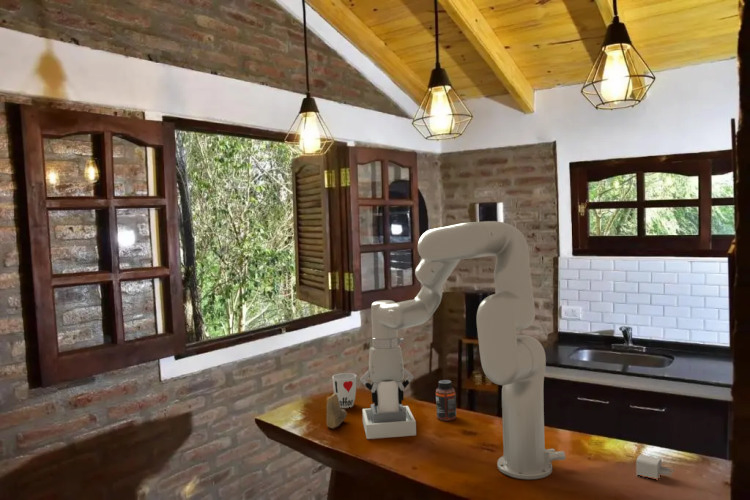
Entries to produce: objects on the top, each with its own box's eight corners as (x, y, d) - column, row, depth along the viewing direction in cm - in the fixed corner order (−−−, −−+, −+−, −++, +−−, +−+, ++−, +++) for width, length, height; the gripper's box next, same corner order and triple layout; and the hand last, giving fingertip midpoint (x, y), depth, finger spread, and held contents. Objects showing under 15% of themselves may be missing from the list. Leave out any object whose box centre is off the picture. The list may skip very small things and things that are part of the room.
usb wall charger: (641, 470, 126) (640, 453, 126) (674, 478, 122) (674, 460, 122) (636, 476, 123) (636, 459, 123) (670, 484, 119) (670, 466, 119)
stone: (334, 431, 159) (333, 397, 159) (320, 429, 161) (319, 396, 161) (348, 421, 167) (347, 389, 167) (335, 419, 169) (333, 387, 169)
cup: (330, 409, 179) (329, 379, 179) (336, 401, 187) (335, 372, 187) (355, 409, 178) (353, 379, 177) (359, 402, 186) (358, 373, 185)
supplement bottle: (459, 416, 167) (458, 380, 167) (451, 422, 162) (450, 385, 162) (441, 413, 171) (440, 378, 170) (433, 419, 166) (432, 382, 165)
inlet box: (408, 418, 167) (407, 399, 167) (416, 435, 153) (415, 414, 153) (362, 421, 166) (362, 402, 166) (366, 439, 152) (365, 417, 152)
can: (397, 423, 156) (395, 381, 155) (375, 422, 157) (373, 381, 157) (401, 415, 162) (399, 375, 162) (379, 415, 163) (378, 375, 163)
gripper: (412, 338, 163) (414, 398, 164) (354, 342, 162) (357, 402, 162) (417, 343, 156) (419, 405, 156) (356, 347, 154) (359, 410, 155)
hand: (387, 403), depth 159 cm, fingers closed on can, 6 cm apart
